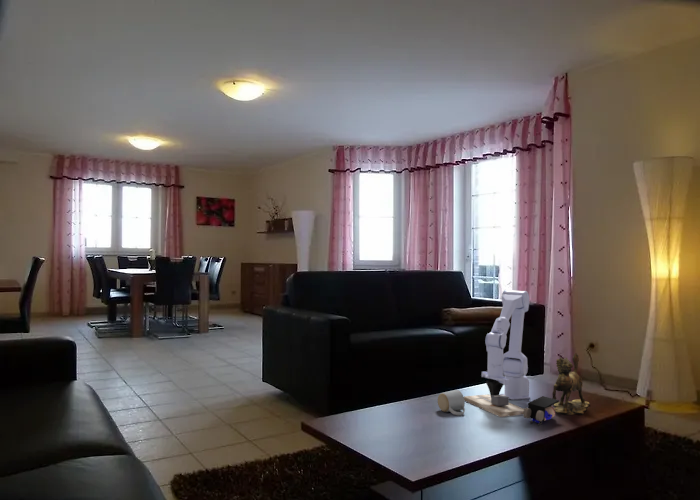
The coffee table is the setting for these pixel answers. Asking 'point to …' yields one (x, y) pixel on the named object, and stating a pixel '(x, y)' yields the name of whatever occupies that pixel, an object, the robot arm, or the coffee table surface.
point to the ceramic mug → (452, 402)
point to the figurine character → (540, 410)
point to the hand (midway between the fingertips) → (494, 399)
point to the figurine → (569, 388)
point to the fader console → (494, 406)
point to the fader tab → (500, 400)
